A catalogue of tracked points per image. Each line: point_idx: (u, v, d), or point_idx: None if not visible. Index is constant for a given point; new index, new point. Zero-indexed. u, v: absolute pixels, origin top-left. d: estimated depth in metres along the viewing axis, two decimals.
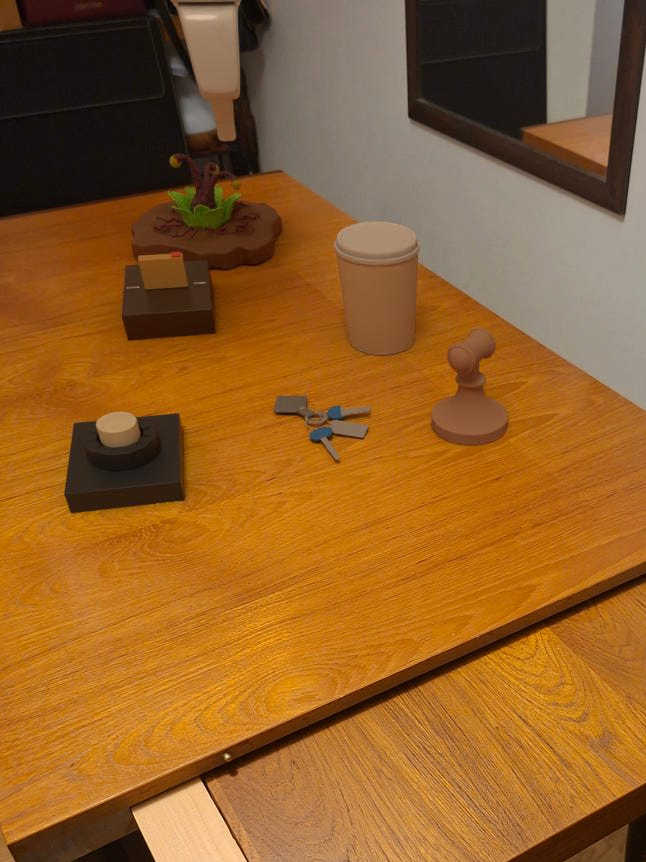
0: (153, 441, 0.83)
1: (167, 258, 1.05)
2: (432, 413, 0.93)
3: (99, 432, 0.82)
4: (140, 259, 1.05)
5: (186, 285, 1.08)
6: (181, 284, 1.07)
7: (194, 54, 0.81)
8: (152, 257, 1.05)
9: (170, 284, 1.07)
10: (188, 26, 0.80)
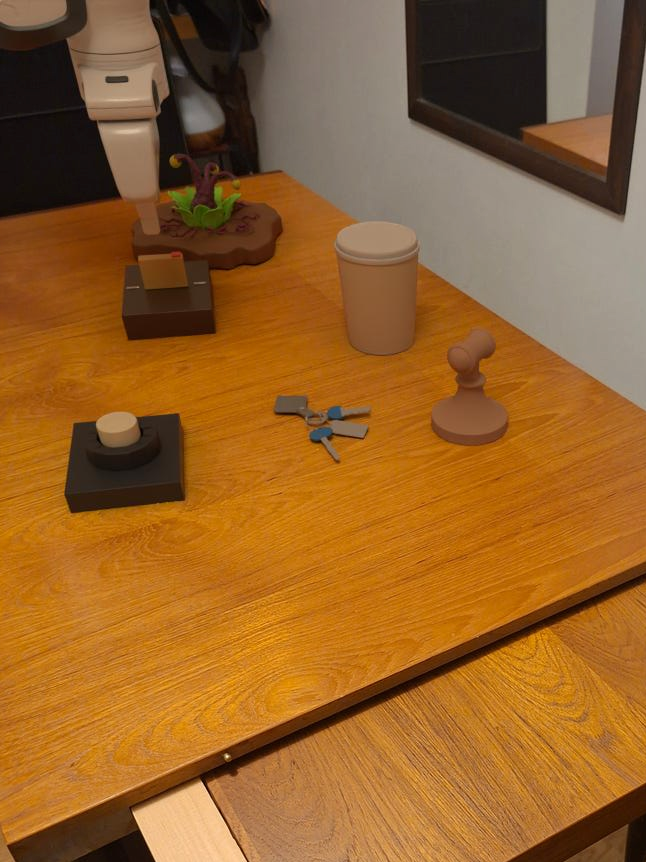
0: (153, 441, 0.83)
1: (167, 258, 1.05)
2: (432, 413, 0.93)
3: (99, 432, 0.82)
4: (140, 259, 1.05)
5: (186, 285, 1.08)
6: (181, 284, 1.07)
7: (113, 165, 0.89)
8: (152, 257, 1.05)
9: (170, 284, 1.07)
10: (107, 141, 0.88)
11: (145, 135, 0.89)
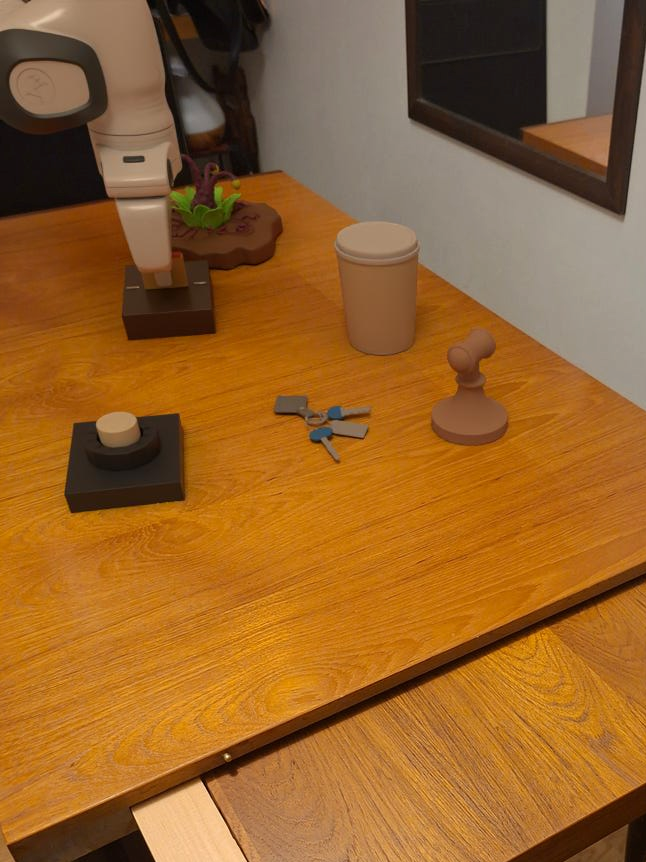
0: (153, 441, 0.83)
1: None
2: (432, 413, 0.93)
3: (99, 432, 0.82)
4: None
5: (186, 285, 1.08)
6: (181, 284, 1.07)
7: (130, 239, 0.94)
8: None
9: None
10: (124, 217, 0.93)
11: (160, 211, 0.94)
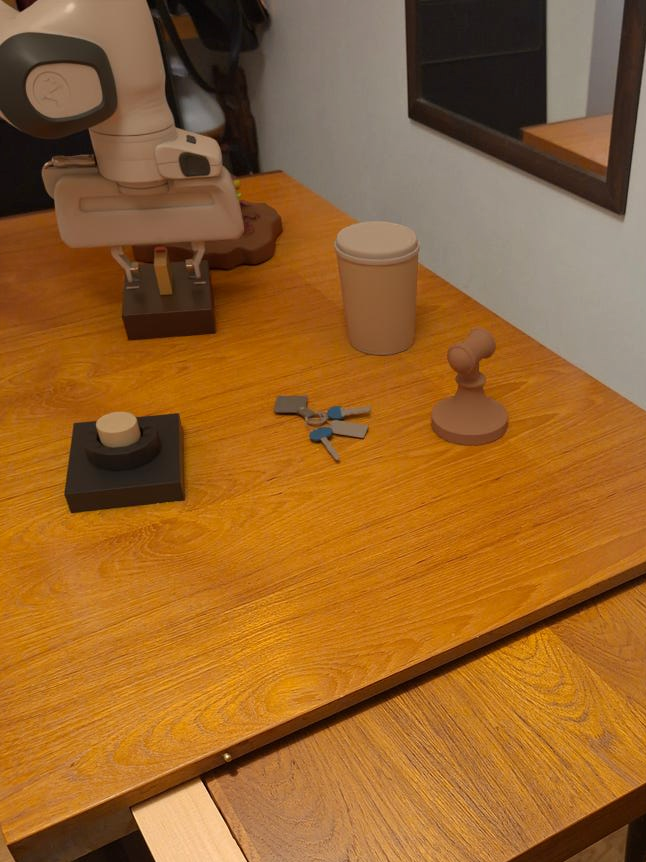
0: (153, 441, 0.83)
1: (165, 253, 1.06)
2: (432, 413, 0.93)
3: (99, 432, 0.82)
4: (165, 264, 1.04)
5: (172, 275, 1.09)
6: (172, 276, 1.09)
7: (238, 206, 1.02)
8: (162, 259, 1.05)
9: (172, 280, 1.08)
10: (231, 187, 1.00)
11: (228, 172, 1.02)
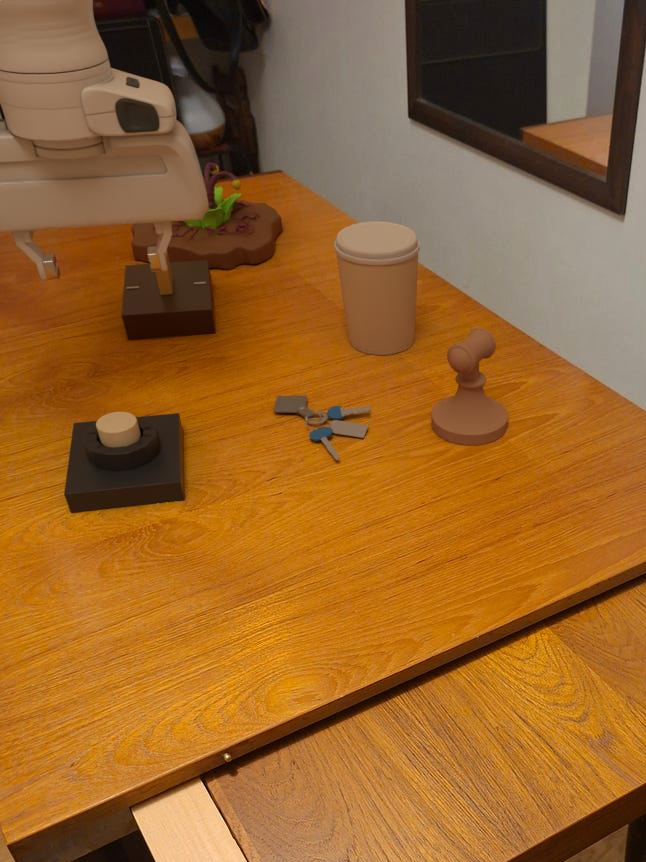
0: (153, 441, 0.83)
1: None
2: (432, 413, 0.93)
3: (99, 432, 0.82)
4: None
5: (172, 275, 1.09)
6: (172, 276, 1.09)
7: (199, 174, 0.76)
8: None
9: (172, 280, 1.08)
10: (189, 148, 0.75)
11: (185, 130, 0.77)
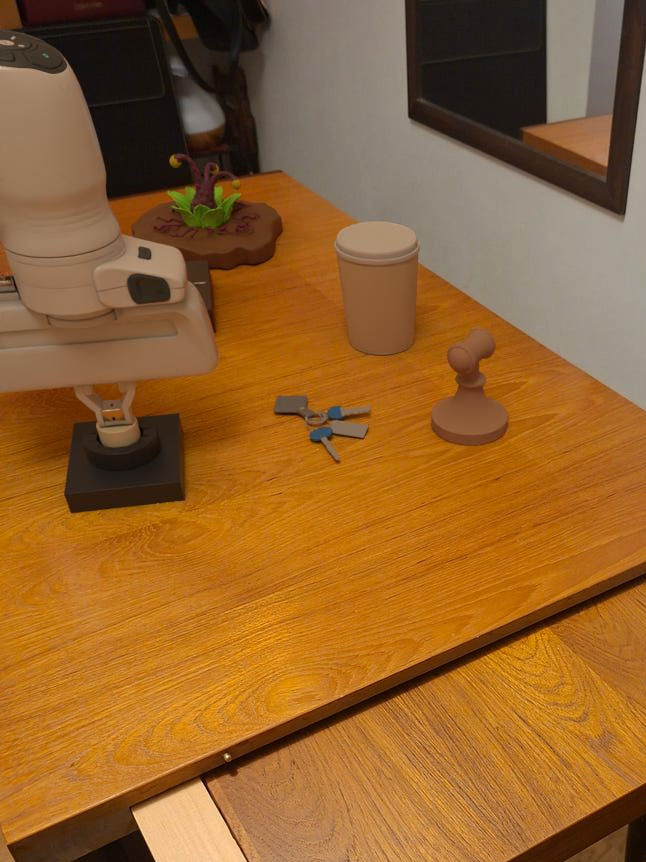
0: (153, 441, 0.83)
1: None
2: (432, 413, 0.93)
3: (99, 433, 0.82)
4: None
5: None
6: None
7: (210, 334, 0.77)
8: None
9: None
10: (200, 312, 0.75)
11: (196, 289, 0.78)
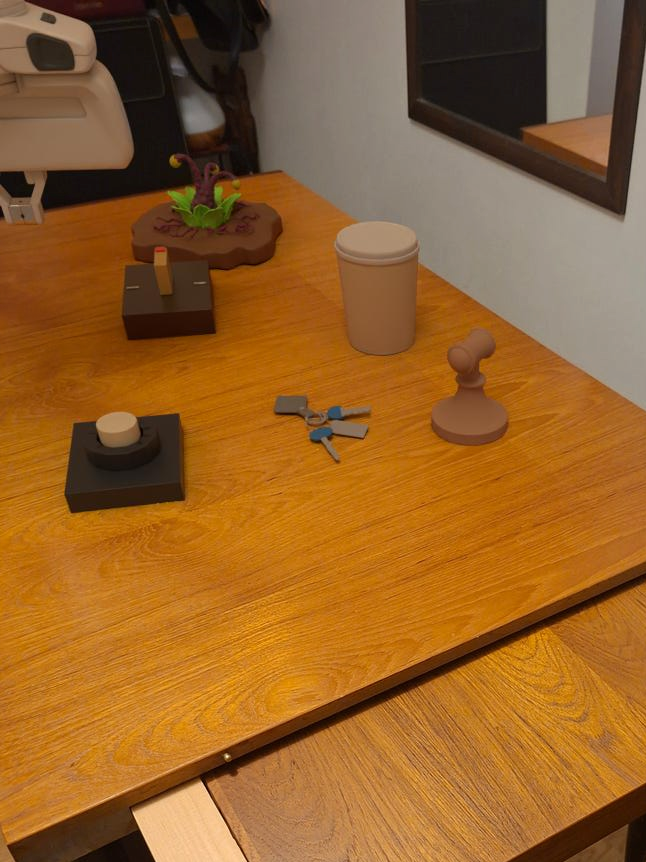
0: (153, 441, 0.83)
1: (165, 253, 1.06)
2: (432, 413, 0.93)
3: (99, 432, 0.82)
4: (165, 264, 1.04)
5: (172, 275, 1.09)
6: (172, 276, 1.09)
7: (121, 119, 0.73)
8: (162, 259, 1.05)
9: (172, 280, 1.08)
10: (109, 91, 0.71)
11: None
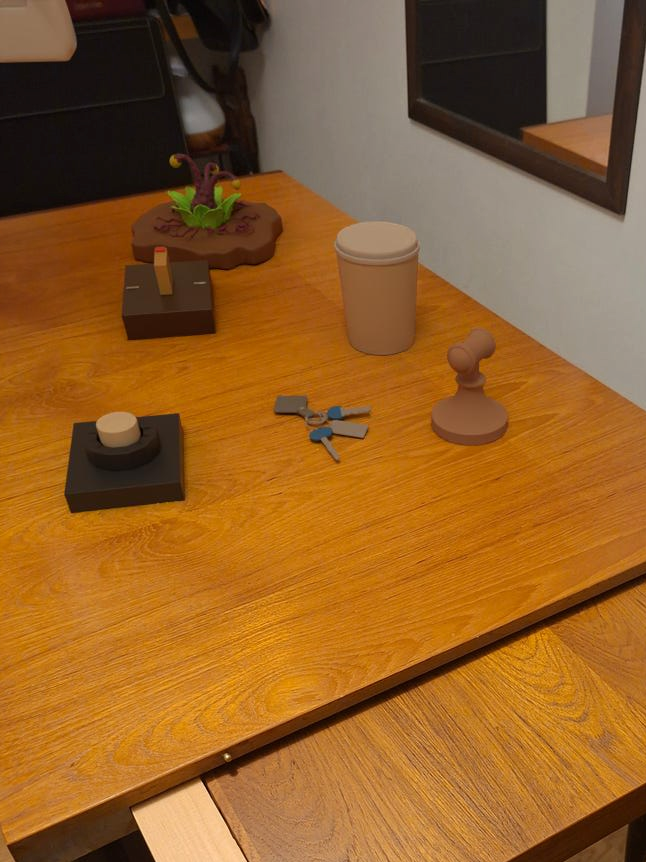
0: (153, 441, 0.83)
1: (165, 253, 1.06)
2: (432, 413, 0.93)
3: (99, 432, 0.82)
4: (165, 264, 1.04)
5: (172, 275, 1.09)
6: (172, 276, 1.09)
7: (61, 8, 0.75)
8: (162, 259, 1.05)
9: (172, 280, 1.08)
10: None
11: None
